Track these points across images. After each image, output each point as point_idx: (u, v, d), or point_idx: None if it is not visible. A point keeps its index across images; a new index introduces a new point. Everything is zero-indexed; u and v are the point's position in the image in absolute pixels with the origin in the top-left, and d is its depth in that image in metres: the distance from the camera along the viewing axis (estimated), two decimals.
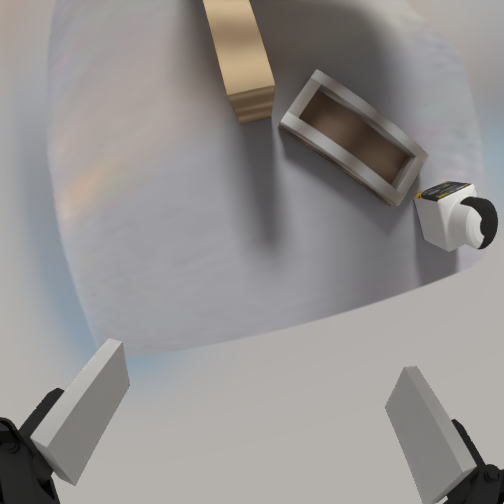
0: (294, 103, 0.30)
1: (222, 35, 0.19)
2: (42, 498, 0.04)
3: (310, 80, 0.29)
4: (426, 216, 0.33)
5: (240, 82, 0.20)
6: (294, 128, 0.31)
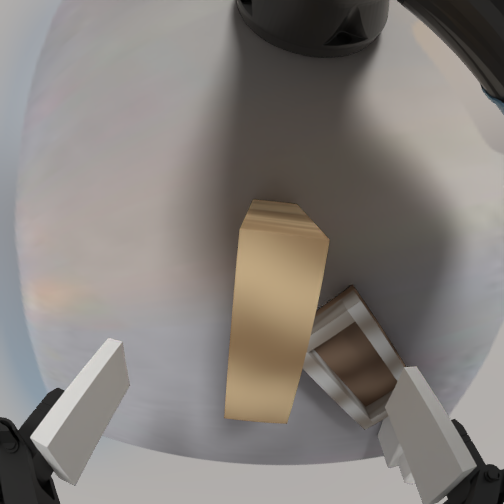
0: (311, 337, 0.26)
1: (245, 347, 0.14)
2: (42, 498, 0.04)
3: (344, 314, 0.25)
4: (387, 432, 0.31)
5: (245, 412, 0.16)
6: None
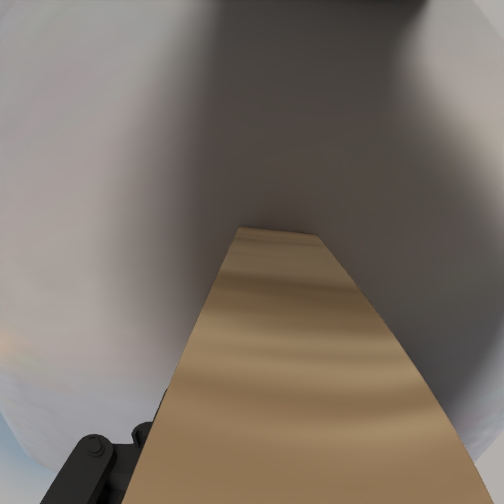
0: None
1: None
2: None
3: None
4: None
5: None
6: None
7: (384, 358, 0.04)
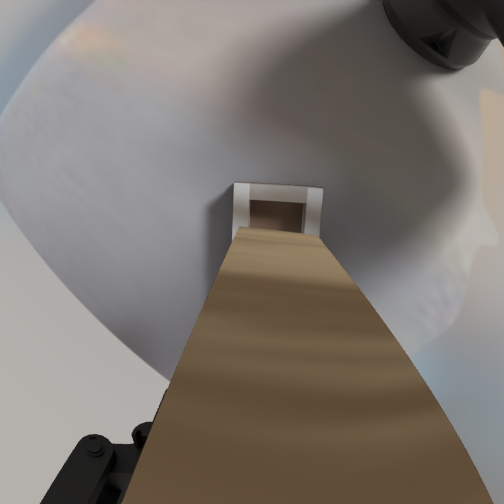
0: (263, 186, 0.27)
1: None
2: None
3: (303, 189, 0.26)
4: None
5: None
6: (234, 202, 0.27)
7: (384, 359, 0.04)
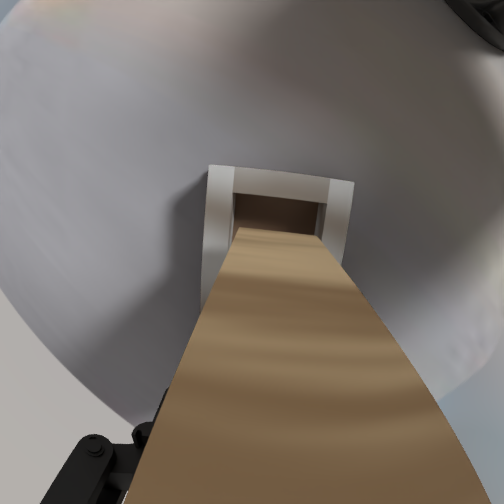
0: (258, 172, 0.16)
1: None
2: None
3: (323, 180, 0.16)
4: None
5: None
6: (208, 196, 0.16)
7: (384, 360, 0.04)
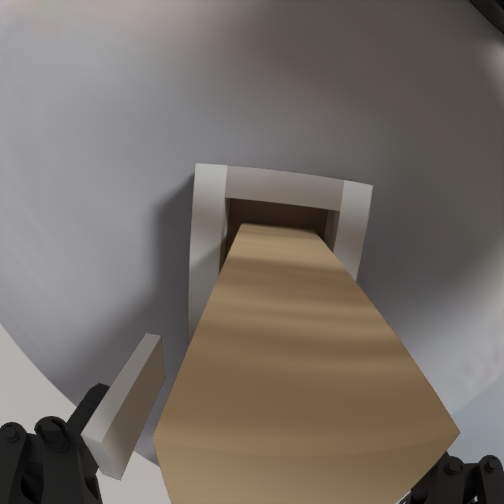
0: (255, 172, 0.13)
1: None
2: (88, 499, 0.04)
3: (335, 182, 0.13)
4: None
5: None
6: (195, 201, 0.13)
7: (364, 320, 0.06)
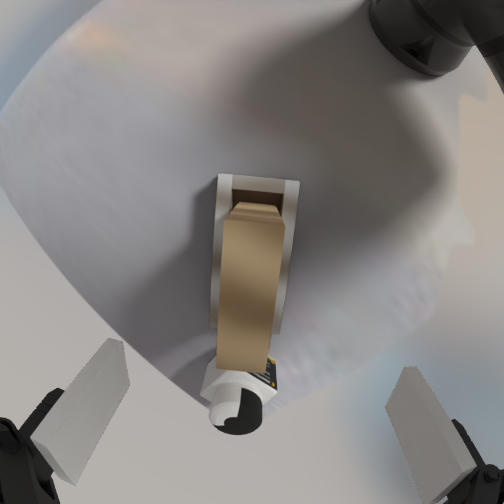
0: (245, 177, 0.29)
1: (230, 305, 0.20)
2: (42, 498, 0.04)
3: (281, 181, 0.29)
4: None
5: (232, 362, 0.22)
6: (218, 190, 0.30)
7: (274, 217, 0.22)
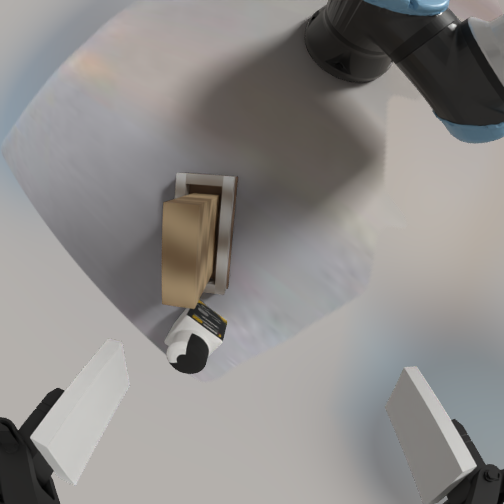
0: (195, 175, 0.40)
1: (168, 257, 0.31)
2: (42, 498, 0.04)
3: (220, 177, 0.40)
4: (183, 313, 0.47)
5: (172, 299, 0.32)
6: (176, 185, 0.40)
7: (201, 201, 0.33)
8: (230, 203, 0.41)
